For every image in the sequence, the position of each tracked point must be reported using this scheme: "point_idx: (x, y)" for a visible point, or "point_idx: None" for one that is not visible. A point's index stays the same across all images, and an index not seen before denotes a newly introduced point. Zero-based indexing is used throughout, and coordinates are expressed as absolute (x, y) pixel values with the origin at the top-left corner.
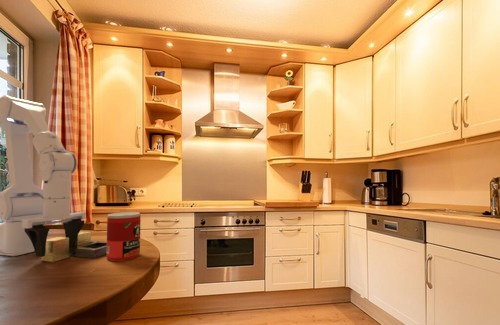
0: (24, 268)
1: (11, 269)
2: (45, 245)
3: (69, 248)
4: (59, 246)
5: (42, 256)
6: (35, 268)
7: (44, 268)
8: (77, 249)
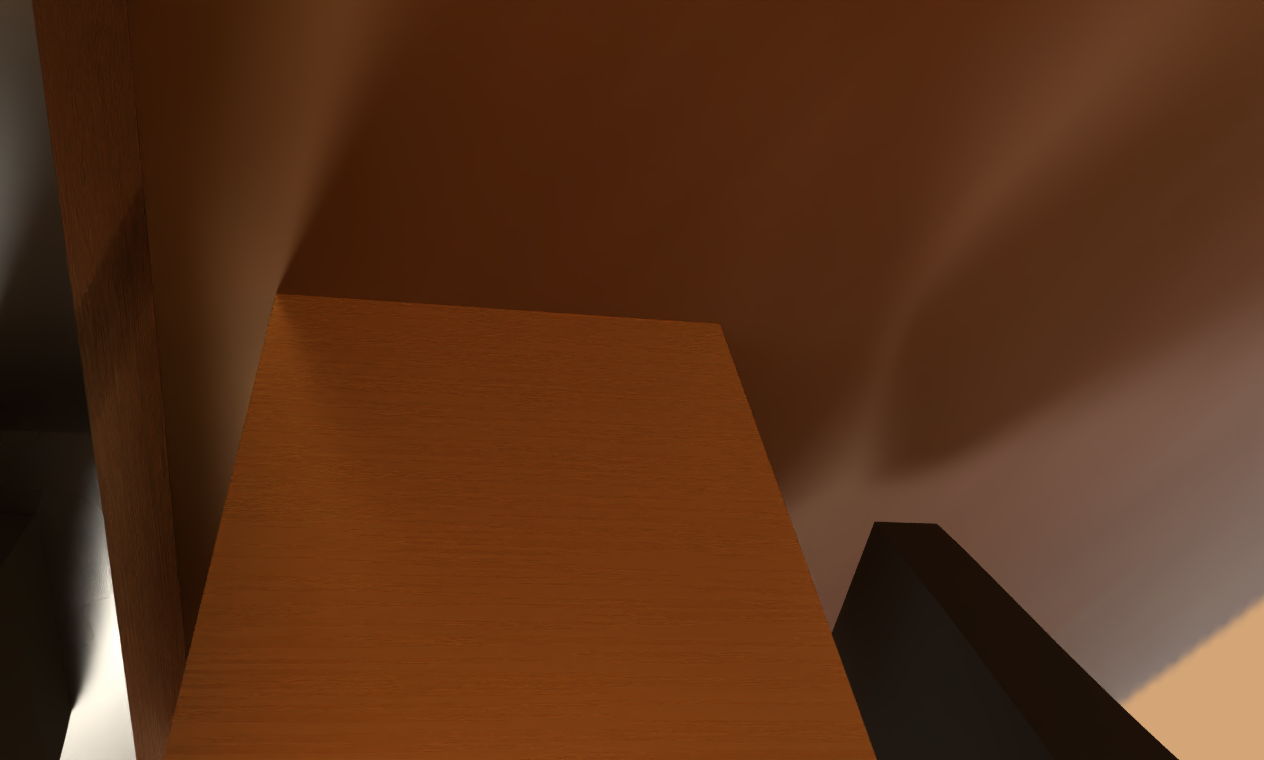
0: (1156, 454)
1: (1175, 595)
2: (1045, 726)
3: (113, 526)
4: (595, 569)
5: (921, 528)
6: (1201, 250)
7: (1248, 34)
8: (73, 181)
